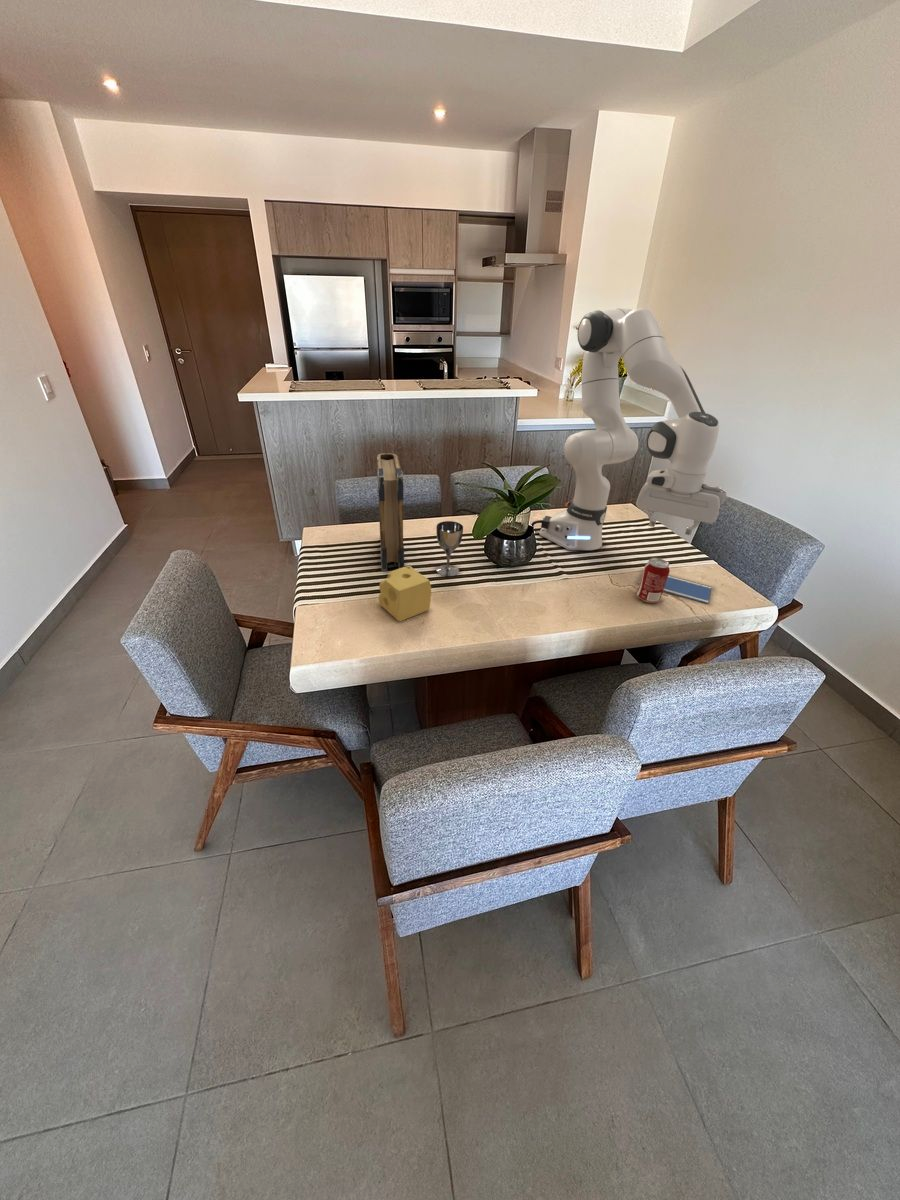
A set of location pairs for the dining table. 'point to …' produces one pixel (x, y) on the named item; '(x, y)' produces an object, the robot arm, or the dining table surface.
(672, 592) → the blue rectangular panel
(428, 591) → the cheese
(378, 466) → the decorative book
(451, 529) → the wine glass
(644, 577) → the soda can
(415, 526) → the dining table surface
